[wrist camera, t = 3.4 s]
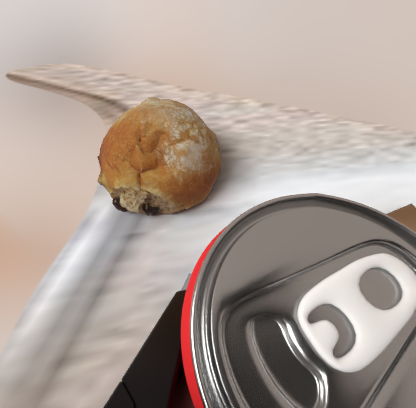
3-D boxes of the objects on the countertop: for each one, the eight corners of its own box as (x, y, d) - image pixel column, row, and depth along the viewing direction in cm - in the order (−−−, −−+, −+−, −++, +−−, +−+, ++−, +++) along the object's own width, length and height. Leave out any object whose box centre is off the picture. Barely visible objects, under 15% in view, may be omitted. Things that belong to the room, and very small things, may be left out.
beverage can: (187, 314, 14) (122, 264, 4) (252, 272, 16) (333, 149, 5) (233, 406, 12) (370, 876, 2) (305, 347, 13) (637, 397, 3)
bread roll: (226, 207, 22) (263, 136, 17) (135, 252, 16) (151, 158, 11) (168, 153, 26) (184, 82, 21) (75, 171, 20) (66, 73, 14)
